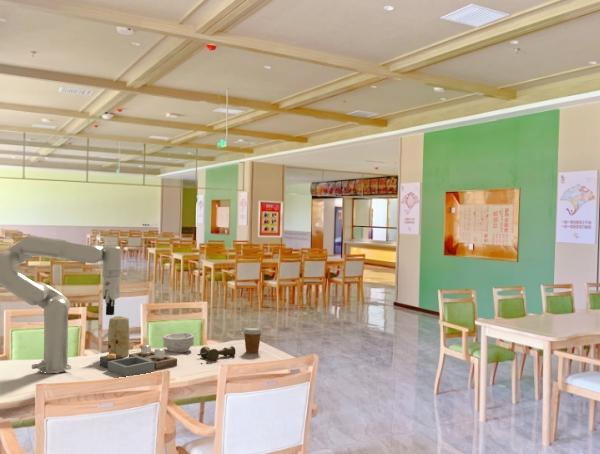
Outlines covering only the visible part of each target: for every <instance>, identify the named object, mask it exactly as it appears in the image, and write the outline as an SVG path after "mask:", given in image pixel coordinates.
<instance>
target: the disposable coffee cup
mask: <svg viewBox="0 0 600 454" xmlns="http://www.w3.org/2000/svg"><path fill="white" fill-rule="evenodd" d="M262 332H263V330H262V328H261V327H258V326H257V327H256V326H249V327H247V326H246V327H244V329H243V335H244V336H243V337H244V345H245V353H247V354H258V353H259V350H260V349H259V348H260V343H261V336H262Z"/></svg>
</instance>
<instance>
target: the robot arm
mask: <svg viewBox="0 0 600 454" xmlns="http://www.w3.org/2000/svg"><path fill="white" fill-rule="evenodd" d="M121 256H122V249H121V247H120V246H117V245H116V246H115V245H109V246H108V245H107V246H104V245H103V246H102V245H96V244H94V245H93V244H92V245H90V244H89V245H87V244H80V243H74V242H70V241H67V240H65V239H64V240H63V239H61V238H60V239H59V238H51V237H43V236H37V235H35V234H32V235H26V236H24V237H22V238H21V240H20V241H19V242H17V243H15V244H13V245H12V246H11V247H8V248H7V249H6V250H3V251H0V286H1V287H2V288H3V289H5V290H7V291H8V292H10V293H12V295H15V297H18V299H19V298H20V299H21V300H22V301H24V302H25V303H27V304H28V305H31V306H38V307H40V308H42V309H43V359H41V362H38V363H35V364H31V369H32V370H35V369H37V370H40V371H42V372H46V373H56V374H60V373H59V372H63V373H66V372H65V371H68V370H71V369H72V366H71V364H68V359H69V358H68V355H69V354H68V353H69V352H68V351H69V350H68V348H69V311H70V308H71V303H70V300H69V298H68V297H66V296H65V295H63V294H62V293H61V292H59V291H58V290H56V289H54V288H53V287H52V286H50V285H48V284H47V283H45V282H43V281H42V282H41V281H33V280H32V279H30V278H28V277H27V276H26V275H24V274H22V273H20V272H18V271H17V270H16V269H15V268H17V267H18V266H20V265H22V264H23V263H24V262H26V261H28V260H30V259H31V258H33V257H40V258H48V259H55V260H61V261H72V262H79V263H86V264H97V263H99V262H102V278H103V283H102V284H103V285H102V299H103V300H104V303H105V315H106V316H113V315H114V316H115V304H116V303H115V302H116V300H117V299H119V298H120V297H121V295H120V294H121V291H120V290H121V288H120V278H121V266H122V265H121V264H122V263H121V262H122V261H121V260H122V257H121ZM40 371H39V372H40Z"/></svg>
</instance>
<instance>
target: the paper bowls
mask: <svg viewBox="0 0 600 454" xmlns="http://www.w3.org/2000/svg"><path fill="white" fill-rule="evenodd" d="M194 337H195V336H194V334H192V333H189V332H187V333H186V332H185V333H184V332H175V333H167V334H165V335H163V339H162V341H163V347H164V348H166V349H167V351H169V352H174V353H177V354H179V353H180V354H181V353H186V352H188V351H189V350H190V349H191V347H192V346H194V343H195V338H194Z"/></svg>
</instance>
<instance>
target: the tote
mask: <svg viewBox="0 0 600 454" xmlns="http://www.w3.org/2000/svg"><path fill="white" fill-rule="evenodd" d="M154 365H155V362H154V361H151V360H148V359H145V358H142V357H138V356H134V357H129V356H128V357H124V358H123V359H118V360H112V361H108V369H107V371H108V372H110V373H113V374H115V375H118V376H120V377H123V376H129V377H131V376H130V375H133V376H138V375H142V374H147V373H152V372H154V371H155V369H154Z"/></svg>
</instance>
